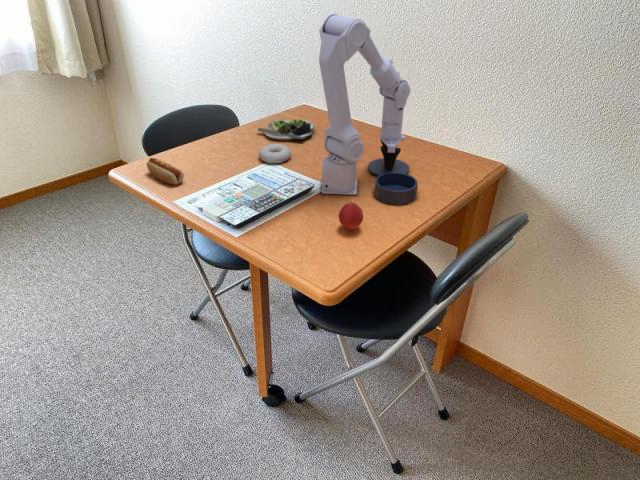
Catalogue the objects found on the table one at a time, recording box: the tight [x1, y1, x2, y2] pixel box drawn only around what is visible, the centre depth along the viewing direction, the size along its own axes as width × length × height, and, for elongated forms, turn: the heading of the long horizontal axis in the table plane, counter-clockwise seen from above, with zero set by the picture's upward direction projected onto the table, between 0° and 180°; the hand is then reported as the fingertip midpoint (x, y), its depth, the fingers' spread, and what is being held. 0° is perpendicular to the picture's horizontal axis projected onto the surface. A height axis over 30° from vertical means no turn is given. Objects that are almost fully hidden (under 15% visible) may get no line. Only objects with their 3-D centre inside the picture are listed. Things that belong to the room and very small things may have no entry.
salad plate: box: [256, 119, 315, 142], centre depth 166 cm, size 19×18×5 cm
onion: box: [338, 200, 364, 231], centre depth 114 cm, size 6×6×8 cm
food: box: [146, 157, 185, 186], centre depth 137 cm, size 14×6×5 cm, turn 49°
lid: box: [367, 157, 410, 177], centre depth 142 cm, size 12×12×5 cm
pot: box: [374, 172, 419, 206], centre depth 129 cm, size 11×11×4 cm
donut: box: [258, 143, 292, 164], centre depth 149 cm, size 10×4×10 cm
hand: (388, 165), depth 142 cm, fingers open, 5 cm apart
